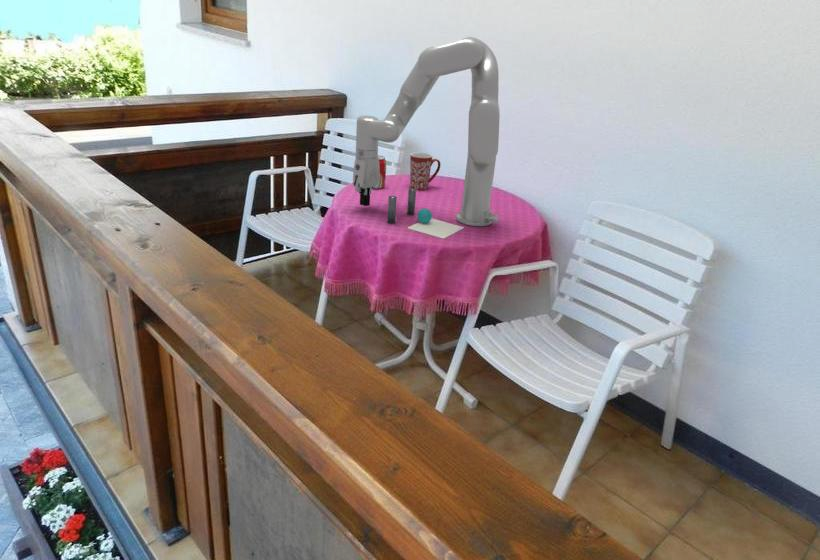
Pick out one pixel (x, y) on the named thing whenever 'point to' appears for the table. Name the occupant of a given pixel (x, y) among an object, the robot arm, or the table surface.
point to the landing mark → (436, 228)
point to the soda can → (381, 173)
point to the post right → (411, 201)
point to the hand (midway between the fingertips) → (364, 204)
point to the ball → (424, 215)
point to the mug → (421, 170)
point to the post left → (391, 209)
